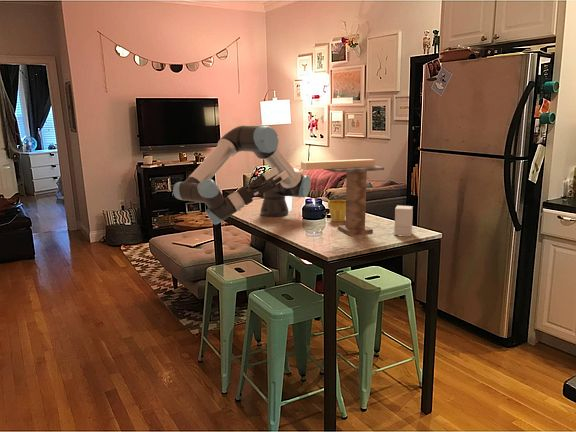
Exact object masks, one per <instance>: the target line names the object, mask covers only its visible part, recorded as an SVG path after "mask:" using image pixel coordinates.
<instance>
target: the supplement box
mask: <svg viewBox="0 0 576 432" xmlns="http://www.w3.org/2000/svg"><path fill="white" fill-rule="evenodd" d="M413 209H414V206H413V205H412V206H411V205H399V204H397V205H396V207H395V208H394V235H393V236H395V235H402V236H401V237H408V236H412V234H411V233H413V213H414V212H413Z"/></svg>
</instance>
